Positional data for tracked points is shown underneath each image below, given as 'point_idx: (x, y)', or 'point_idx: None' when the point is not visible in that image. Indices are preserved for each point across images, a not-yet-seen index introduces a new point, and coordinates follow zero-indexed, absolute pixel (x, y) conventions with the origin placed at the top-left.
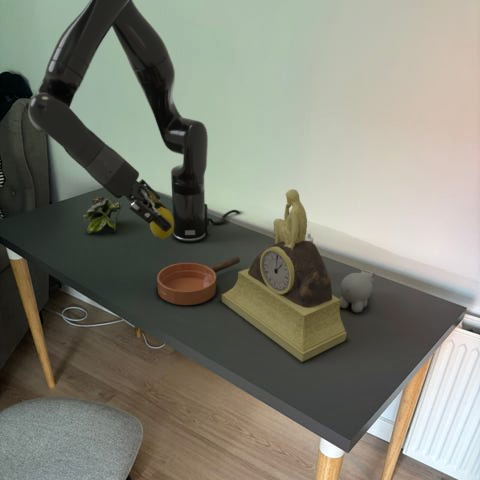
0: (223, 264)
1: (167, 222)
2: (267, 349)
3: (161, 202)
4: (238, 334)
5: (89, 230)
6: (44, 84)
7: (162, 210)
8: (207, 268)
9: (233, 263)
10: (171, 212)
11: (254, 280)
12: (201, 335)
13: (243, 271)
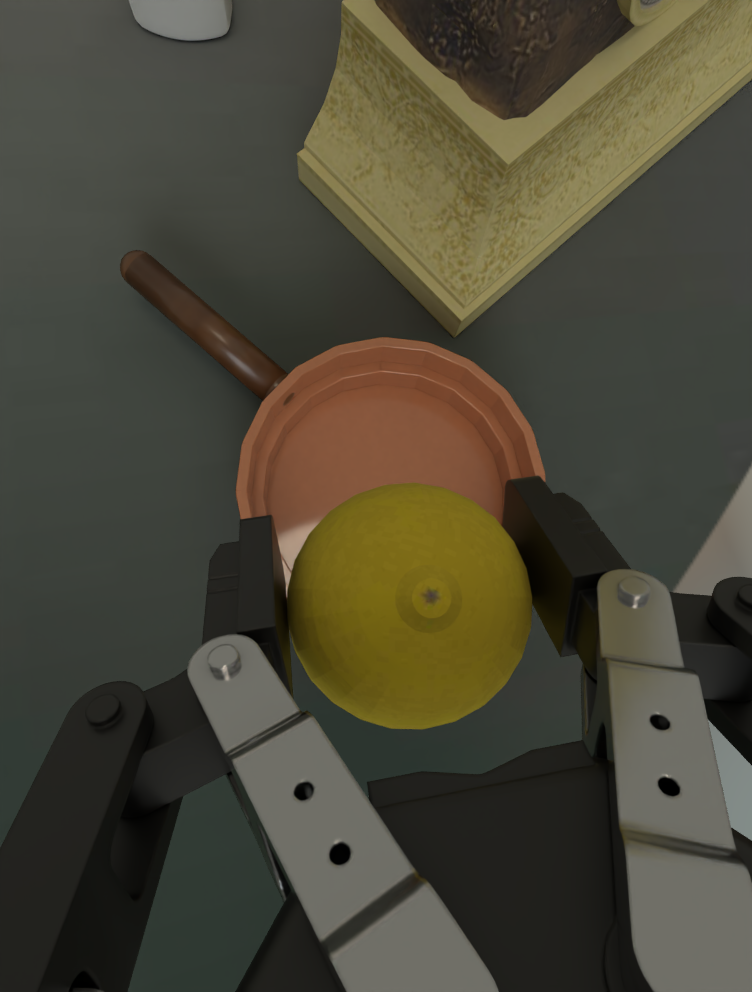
0: (219, 320)
1: (557, 506)
2: (729, 164)
3: (233, 640)
4: (667, 260)
5: None
6: None
7: (466, 574)
8: (288, 391)
9: (180, 281)
10: (249, 528)
11: (579, 89)
12: (704, 389)
13: (497, 141)
